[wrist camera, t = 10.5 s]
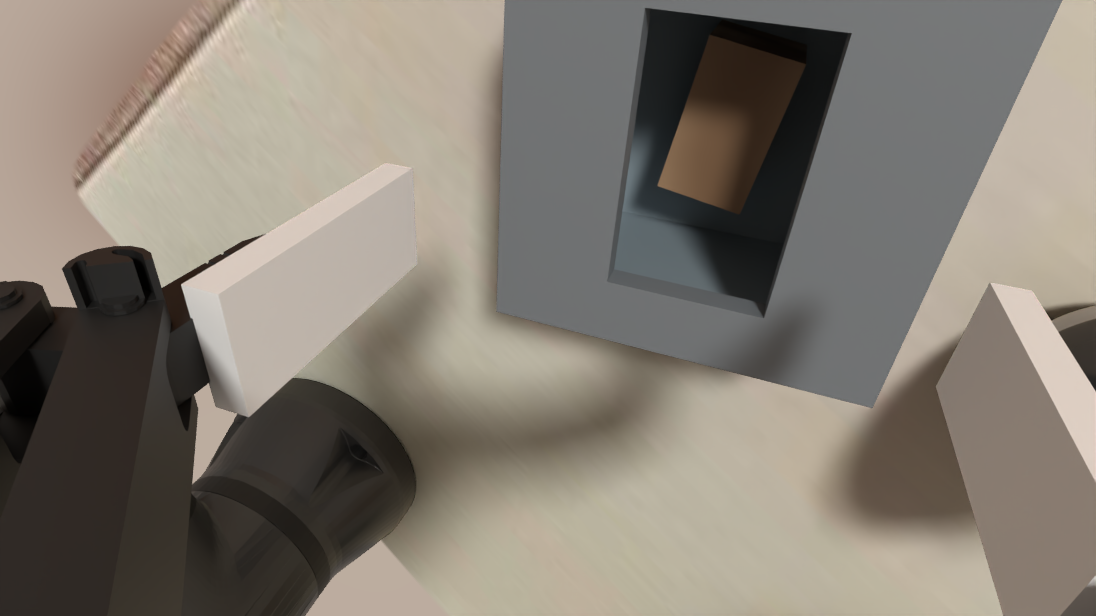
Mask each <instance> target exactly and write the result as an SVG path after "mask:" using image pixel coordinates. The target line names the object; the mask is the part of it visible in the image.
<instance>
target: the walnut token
mask: <svg viewBox="0 0 1096 616" xmlns="http://www.w3.org/2000/svg"><path fill="white" fill-rule="evenodd" d="M806 57H807V45H805V44H802V43H799V42H795V41H792V40H789V39H786V38H782V37H779V36H776V35H772V34H769V33H766V32H762V31H759V30H756V29H753V28H749V27H746V26H743V25H739V24H736V23H733V22H729V21H726V20H723V19H722V20H721V22H720V23H719V24H718V25H717V27H716V28H715V29H714V30H713V31H712V33H711V34H710V36H709V39H708V41H707V44H706V47H705V50H704V53H703V56H702V59H701V62H700V64H699V67H698V70H697V73H696V76H695V79H694V82H693V85H692V88H691V90H690V93H689V96H688V99H687V102H686V105H685V108H684V111H683V113H682V116H681V119H680V122H679V125H678V128H677V131H676V134H675V137H674V139H673V142H672V145H671V148H670V151H669V154H668V157H667V160H666V162H665V165H664V168H663V171H662V174H661V177H660V180H659V183H658V185H657V186H659V187H662V188H665V189H668V190H671V191H673V192H676V193H679V194H682V195H685V196H688V197H691V198H693V199H696V200H699V201H702V202H705V203H708V204H710V205H713V206H716V207H719V208H722V209H725V210H728V211H730V212H733V213H736V214H739V215H740V213H741V210H742V208H743V206H744V204H745V201H746V199H747V197H748V195H749V192H750V190H751V188H752V186H753V183H754V181H755V179H756V177H757V174H758V172H759V170H760V168H761V165H762V163H763V161H764V159H765V156H766V154H767V152H768V150H769V147H770V145H771V143H772V140H773V138H774V136H775V134H776V131H777V129H778V127H779V125H780V122H781V120H782V118H783V116H784V113H785V111H786V109H787V107H788V104H789V102H790V100H791V98H792V95H793V93H794V91H795V89H796V86H797V84H798V82H799V80H800V77H801V75H802V73H803V71H804V68H805V66H806Z"/></svg>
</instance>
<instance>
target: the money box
mask: <svg viewBox="0 0 1096 616" xmlns="http://www.w3.org/2000/svg"><path fill="white" fill-rule="evenodd" d="M1061 2H1062V0H505V11H504V48H503V86H502V123H501V161H500V198H499V236H498V273H497V311H496V312H500V313H504V314H508V315H512V316H516V317H519V318H523V319H527V320H531V321H535V322H539V323H543V324H547V325H551V326H554V327H558V328H562V329H566V330H570V331H574V332H578V333H582V334H586V335H589V336H593V337H597V338H601V339H605V340H609V341H613V342H617V343H621V344H624V345H628V346H632V347H636V348H640V349H644V350H648V351H652V352H656V353H659V354H663V355H667V356H671V357H675V358H679V359H683V360H687V361H691V362H694V363H698V364H702V365H706V366H710V367H714V368H718V369H722V370H726V371H730V372H733V373H737V374H741V375H745V376H749V377H753V378H757V379H761V380H765V381H768V382H772V383H776V384H780V385H784V386H788V387H792V388H796V389H800V390H803V391H807V392H811V393H815V394H819V395H823V396H827V397H831V398H835V399H838V400H842V401H846V402H850V403H854V404H858V405H862V406H866V407H870V408H873V406H874V404H875V401H876V399H877V397H878V395H879V393H880V391H881V389H882V386H883V384H884V382H885V380H886V378H887V376H888V374H889V371H890V369H891V367H892V365H893V363H894V361H895V359H896V356H897V354H898V352H899V350H900V348H901V346H902V343H903V341H904V339H905V337H906V335H907V333H908V331H909V328H910V326H911V324H912V322H913V320H914V318H915V316H916V313H917V311H918V309H919V307H920V305H921V303H922V301H923V298H924V296H925V294H926V292H927V290H928V288H929V285H930V283H931V281H932V279H933V277H934V275H935V273H936V270H937V268H938V266H939V264H940V262H941V260H942V258H943V255H944V253H945V251H946V249H947V247H948V245H949V243H950V240H951V238H952V236H953V234H954V232H955V230H956V227H957V225H958V223H959V221H960V219H961V217H962V215H963V212H964V210H965V208H966V206H967V204H968V202H969V200H970V197H971V195H972V193H973V191H974V189H975V187H976V185H977V182H978V180H979V178H980V176H981V174H982V172H983V170H984V167H985V165H986V163H987V161H988V159H989V157H990V154H991V152H992V150H993V148H994V146H995V144H996V142H997V139H998V137H999V135H1000V133H1001V131H1002V129H1003V127H1004V124H1005V122H1006V120H1007V118H1008V116H1009V114H1010V112H1011V109H1012V107H1013V105H1014V103H1015V101H1016V99H1017V96H1018V94H1019V92H1020V90H1021V88H1022V86H1023V84H1024V81H1025V79H1026V77H1027V75H1028V73H1029V71H1030V69H1031V66H1032V64H1033V62H1034V60H1035V58H1036V56H1037V54H1038V51H1039V49H1040V47H1041V45H1042V43H1043V41H1044V38H1045V36H1046V34H1047V32H1048V30H1049V28H1050V26H1051V23H1052V21H1053V19H1054V17H1055V15H1056V13H1057V11H1058V8H1059V6H1060V4H1061ZM722 19H723V20H726V21H729V22H733V23H736V24H739V25H743V26H746V27H749V28H753V29H756V30H759V31H762V32H766V33H769V34H772V35H776V36H779V37H782V38H786V39H789V40H792V41H795V42H799V43H802V44H805V45H807V57H806V66H805V68H804V71H803V73H802V75H801V77H800V80H799V82H798V84H797V86H796V89H795V91H794V93H793V95H792V98H791V100H790V102H789V104H788V107H787V109H786V111H785V113H784V116H783V118H782V120H781V122H780V125H779V127H778V129H777V131H776V134H775V136H774V138H773V140H772V143H771V145H770V147H769V150H768V152H767V154H766V156H765V159H764V161H763V163H762V165H761V168H760V170H759V172H758V174H757V177H756V179H755V181H754V183H753V186H752V188H751V190H750V192H749V195H748V197H747V199H746V201H745V204H744V206H743V208H742V210H741V213H740V215H739V214H736V213H733V212H730V211H728V210H725V209H722V208H719V207H716V206H713V205H710V204H708V203H705V202H702V201H699V200H696V199H693V198H691V197H688V196H685V195H682V194H679V193H676V192H673V191H671V190H668V189H665V188H662V187H659V186H657V185H658V183H659V180H660V177H661V174H662V171H663V168H664V165H665V162H666V160H667V157H668V154H669V151H670V148H671V145H672V142H673V139H674V137H675V134H676V131H677V128H678V125H679V122H680V119H681V116H682V113H683V111H684V108H685V105H686V102H687V99H688V96H689V93H690V90H691V88H692V85H693V82H694V79H695V76H696V73H697V70H698V67H699V64H700V62H701V59H702V56H703V53H704V50H705V47H706V44H707V41H708V39H709V36H710V34H711V33H712V31H713V30H714V29H715V28H716V27H717V25H718V24H719V23H720V22H721V20H722Z"/></svg>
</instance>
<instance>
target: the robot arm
mask: <svg viewBox="0 0 1096 616" xmlns="http://www.w3.org/2000/svg"><path fill="white" fill-rule="evenodd" d="M416 265H417V247H416V226H415V205H414V184H413V168H410V167H405V166H399V165H394V164H389V163H385V164H383V165H381V166H379V167H378V168H376V169H374V170H373V171H371V172H369V173H368V174H366V175H364V176H363V177H361V178H359V179H358V180H356V181H354V182H353V183H351V184H349V185H348V186H346V187H344V188H342V189H341V190H339V191H337V192H336V193H334V194H332V195H331V196H329V197H327V198H326V199H324V200H322V201H321V202H319V203H317V204H316V205H314V206H312V207H310V208H309V209H307V210H305V211H304V212H302V213H300V214H299V215H297V216H295V217H294V218H292V219H290V220H289V221H287V222H285V223H284V224H282V225H280V226H279V227H277V228H275V229H273V230H272V231H270V232H268V233H267V234H264V235H261V236H258V237H254V238H251V239H248V240H245V241H242V242H240V243H239V244H237V245H235V246H233V247H232V248H230V249H228V250H227V251H225V252H224V254H223V255H221V254H220V255H218V256H216V257H214V258H213V259H211V260H209V263H208V264H206V263H204V264H202V265H201V266H199V267H197V268H196V269H194V270H192V271H190V272H189V273H187V274H185V275H184V276H182V277H180V278H178V279H177V280H175V281H173V282H172V283H170V284H168V285H166V286H165V287H163V288H161V285H160V281H159V278H158V275H157V272H156V268H155V265H154V262H153V258H152V255H151V253H150V252H148V251H147V250H145V249H143V248H138V247H133V246H113V247H108V248H102V249H97V250H93V251H90V252H87V253H84V254H81V255H79V256H78V257H76V258H74V259H72V260H71V261H69V262H68V263H67V264H66V265H65V266H64V267H63V268H62V270H63V272H64V275H65V277H66V280H67V283H68V285H69V287H70V290H71V293H72V295H73V298H74V300H75V302H76V305H77V308H71V307H70V308H69V307H51V305H50V303H49V300H48V298H47V296H46V293H45V292H44V289H43V286H41V285H39V284H37V283H34V282H27V281H12V282H7V281H3V282H0V616H305V615H306V613H307V612H308V611H309V609H310V608H311V607H312V605H313V604H314V602H315V601H316V599H317V598H318V597H319V595H320V594H321V593H322V591H323V590H324V588H325V587H326V585H327V584H328V583H329V582H330V580H331V579H332V578H333V577H334V576H335V575H336V574H337V573H338V572H339V571H341V570H342V569H343V568H345V567H346V566H347V565H349V564H350V563H351V562H352V561H354V560H355V559H357V558H358V557H359V556H361V555H362V554H363V553H365V552H366V551H367V550H369V549H370V548H371V547H372V546H374V545H375V544H376V543H377V542H379V541H380V540H381V539H383V538H384V537H386V536H387V535H388V534H390V533H391V532H392V531H393V530H394V529H395V527H396V526H397V525H398V524H399V522H400V521H401V519H402V518H403V516H404V515H405V513H406V512H407V510H408V509H409V507H410V506H411V504H412V502H413V499H414V496H415V477H414V472H413V469H412V466H411V463H410V461H409V458H408V456H407V454H406V452H405V451H404V449H403V447H402V446H401V444H400V443H399V441H398V440H397V438H396V437H395V436H394V434H393V433H392V432H391V431H390V430H389V428H388V427H387V426H386V425H385V424H384V423H383V422H382V421H381V420H380V419H379V418H378V417H377V416H376V415H374V414H373V413H372V412H371V411H370V410H369V409H367V408H366V407H365V406H363V405H362V404H361V403H359V402H358V401H356V400H355V399H353V398H352V397H350V396H348V395H346V394H345V393H343V392H341V391H339V390H337V389H335V388H332V387H330V386H327V385H325V384H322V383H319V382H315V381H311V380H306V379H296V378H293V377H294V376H295V375H296V374H297V373H298V372H299V371H300V370H301V369H303V368H304V367H305V366H306V365H307V364H308V363H309V362H310V361H311V360H312V359H313V358H315V357H316V356H317V355H318V354H319V353H320V352H321V351H322V350H323V349H324V348H326V347H327V346H328V345H329V344H330V343H331V342H332V341H333V340H334V339H335V338H337V337H338V336H339V335H340V334H341V333H342V332H343V331H344V330H345V329H346V328H348V327H349V326H350V325H351V324H352V323H353V322H354V321H355V320H356V319H357V318H359V317H360V316H361V315H362V314H363V313H364V312H365V311H366V310H367V309H368V308H370V307H371V306H372V305H373V304H374V303H375V302H376V301H377V300H378V299H379V298H381V297H382V296H383V295H384V294H385V293H386V292H387V291H388V290H389V289H390V288H392V287H393V286H394V285H395V284H396V283H397V282H398V281H399V280H400V279H401V278H402V277H404V276H405V275H406V274H407V273H408V272H409V271H410V270H411V269H412V268H413V267H415V266H416ZM207 383H209V385H210V388H211V392H212V395H213V399H214V402H215V406H216V407H218V408H221V409H225V410H228V411H231V412H234V413H237V416H236V417H235V419H234V422H233V424H232V425H231V427H230V428H229V430H228V432H227V433H226V435H225V437H224V439H223V440H222V442H221V444H220V446H219V448H218V449H217V451H216V453H215V455H214V457H213V458H212V460H211V462H210V464H209V466H208V467H207V469H206V471H205V472H204V473H203V475H202V476H201V477H200V478H199V479H198V480H197V481H196V482H195V483H194V484H192V478H193V466H194V454H195V441H196V428H197V416H198V407H197V403H196V400H195V396H194V394H195V393H196V392H198V391H199V390H200V389H201V388H203V387H204V386H205V385H207ZM936 389H937V392H938V396H939V399H940V403H941V406H942V409H943V413H944V416H945V420H946V423H947V426H948V430H949V433H950V436H951V440H952V443H953V447H954V450H955V453H956V457H957V460H958V464H959V467H960V470H961V474H962V477H963V480H964V484H965V487H966V491H967V494H968V497H969V501H970V504H971V508H972V511H973V514H974V518H975V521H976V524H977V528H978V531H979V535H980V538H981V541H982V545H983V548H984V552H985V555H986V558H987V562H988V565H989V568H990V572H991V575H992V579H993V582H994V585H995V589H996V592H997V596H998V599H999V602H1000V606H1001V609H1002V612H1003V616H1096V391H1095V390H1094V388H1093V386H1092V385H1091V383H1090V382H1089V380H1088V379H1087V377H1086V375H1085V374H1084V372H1083V371H1082V369H1081V367H1080V366H1079V364H1078V363H1077V361H1076V359H1075V358H1074V356H1073V355H1072V353H1071V352H1070V350H1069V348H1068V347H1067V345H1066V344H1065V342H1064V340H1063V339H1062V337H1061V336H1060V334H1059V332H1058V331H1057V329H1056V328H1055V326H1054V325H1053V323H1052V321H1051V320H1050V318H1049V317H1048V315H1047V313H1046V312H1045V310H1044V309H1043V307H1042V306H1041V304H1040V302H1039V301H1038V299H1037V298H1036V296H1035V294H1034V293H1033V291H1031V290H1026V289H1021V288H1016V287H1011V286H1006V285H1001V284H996V283H991V282H990V283H989V285H988V287H987V289H986V291H985V293H984V295H983V297H982V299H981V301H980V303H979V304H978V306H977V308H976V310H975V312H974V314H973V316H972V318H971V320H970V322H969V324H968V326H967V328H966V329H965V331H964V333H963V335H962V337H961V339H960V341H959V343H958V345H957V347H956V349H955V351H954V353H953V354H952V356H951V358H950V360H949V362H948V364H947V366H946V368H945V370H944V372H943V374H942V376H941V378H940V379H939V381H938V383H937V385H936Z"/></svg>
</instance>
